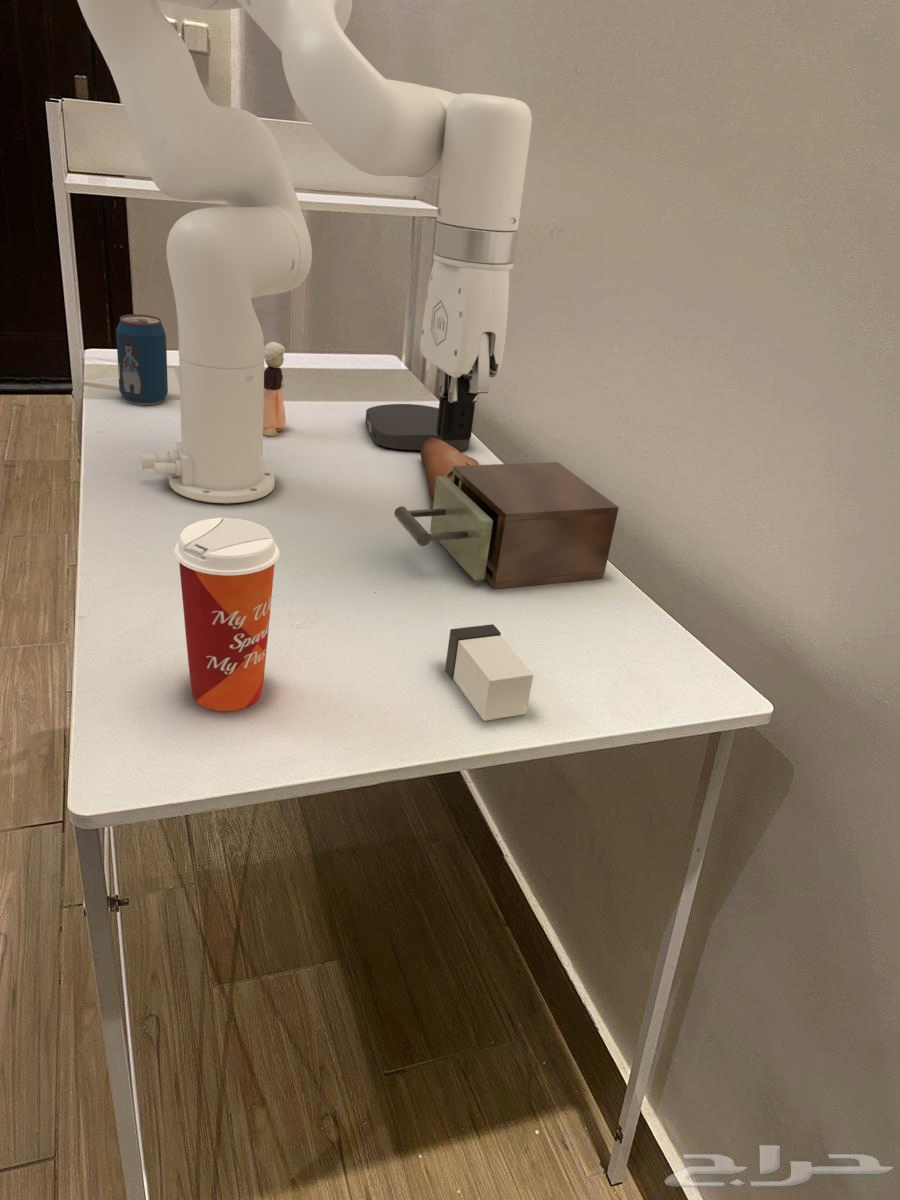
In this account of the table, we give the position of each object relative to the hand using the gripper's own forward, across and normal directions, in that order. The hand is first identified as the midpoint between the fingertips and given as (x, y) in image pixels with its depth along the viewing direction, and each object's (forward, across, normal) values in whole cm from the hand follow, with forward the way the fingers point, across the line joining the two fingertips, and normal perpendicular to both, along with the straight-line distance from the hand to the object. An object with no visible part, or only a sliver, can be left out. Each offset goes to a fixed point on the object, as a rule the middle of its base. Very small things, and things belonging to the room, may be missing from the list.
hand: (453, 437), depth 93 cm
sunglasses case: (+15, -21, +11) cm, 28 cm away
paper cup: (+15, +19, -26) cm, 36 cm away
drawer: (+14, 0, +5) cm, 14 cm away
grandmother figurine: (+14, -45, -8) cm, 48 cm away
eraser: (+15, +24, -6) cm, 28 cm away
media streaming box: (+14, -41, +14) cm, 46 cm away
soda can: (+14, -60, -24) cm, 66 cm away
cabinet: (+14, 0, +10) cm, 18 cm away
